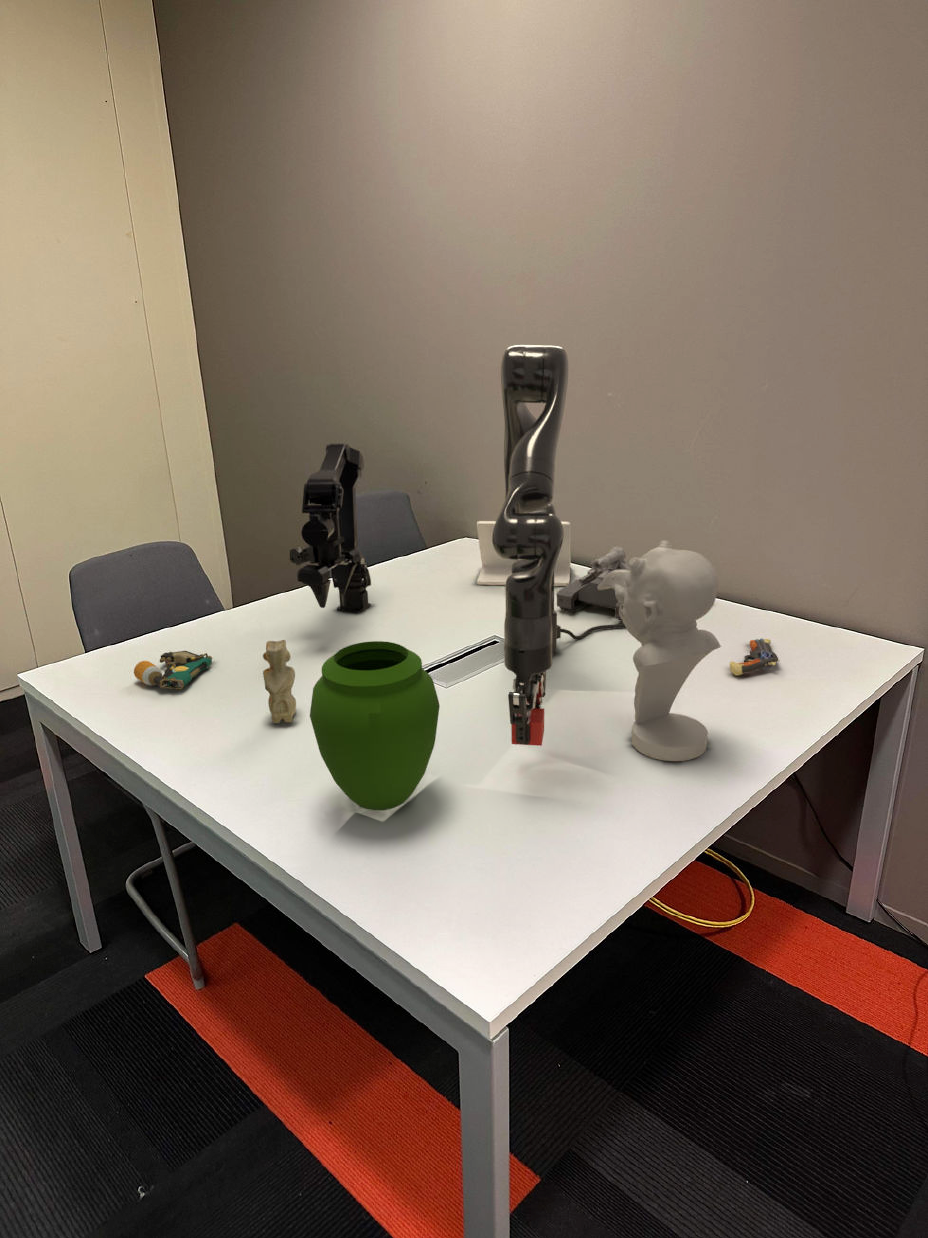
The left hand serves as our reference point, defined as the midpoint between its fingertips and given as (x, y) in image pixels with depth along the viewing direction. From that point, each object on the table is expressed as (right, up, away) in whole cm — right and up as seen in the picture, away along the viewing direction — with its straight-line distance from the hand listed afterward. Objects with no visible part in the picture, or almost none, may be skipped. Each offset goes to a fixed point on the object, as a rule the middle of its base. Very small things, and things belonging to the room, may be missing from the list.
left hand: (332, 600), depth 194 cm
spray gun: (-31, -16, -13) cm, 37 cm away
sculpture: (-4, -23, -33) cm, 40 cm away
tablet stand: (+47, +8, +45) cm, 66 cm away
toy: (+68, -1, +20) cm, 71 cm away
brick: (+40, -24, -54) cm, 72 cm away
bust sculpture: (+62, -25, -44) cm, 80 cm away
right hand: (+40, -23, -55) cm, 72 cm away
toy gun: (+91, -13, -14) cm, 93 cm away
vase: (+17, -32, -60) cm, 70 cm away
